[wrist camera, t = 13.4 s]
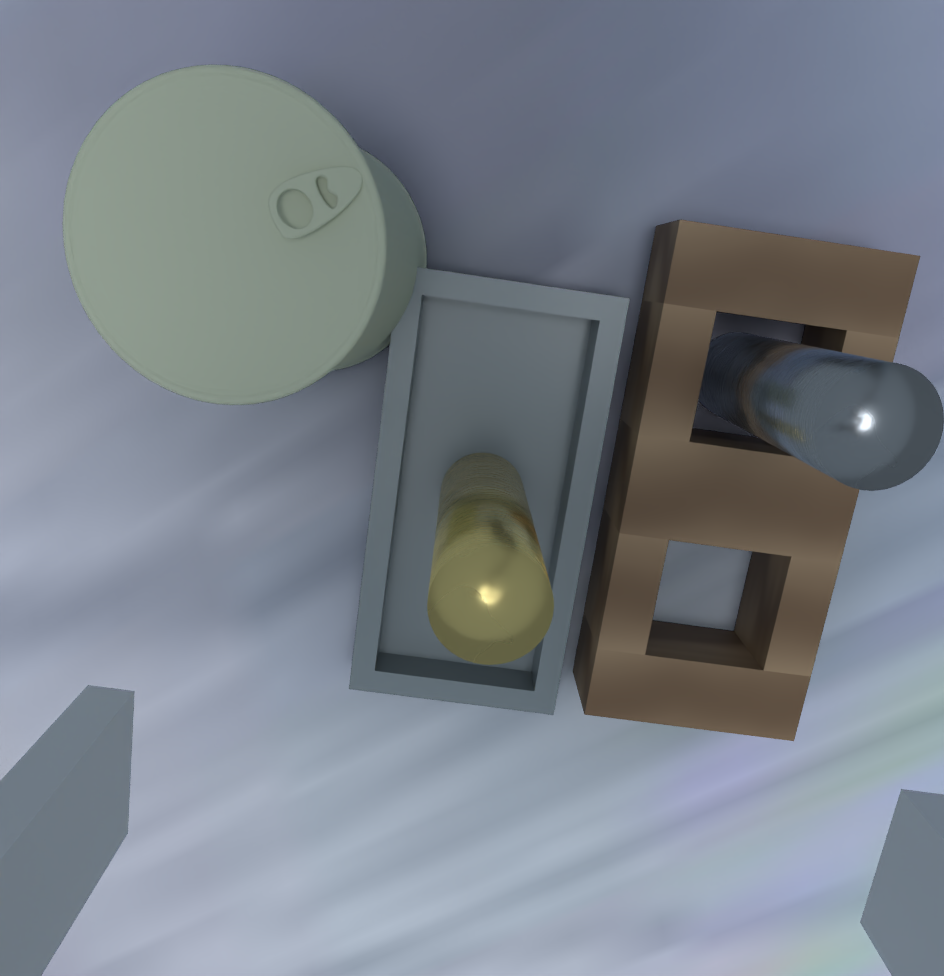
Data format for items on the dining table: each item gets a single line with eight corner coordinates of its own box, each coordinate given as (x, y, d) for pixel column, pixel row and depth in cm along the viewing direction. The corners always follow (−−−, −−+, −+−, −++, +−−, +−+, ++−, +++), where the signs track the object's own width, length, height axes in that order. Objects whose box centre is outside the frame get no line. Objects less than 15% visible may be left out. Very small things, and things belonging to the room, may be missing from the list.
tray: (404, 265, 35) (399, 264, 32) (618, 296, 35) (629, 298, 33) (356, 663, 39) (348, 688, 37) (548, 687, 40) (553, 715, 37)
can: (463, 314, 35) (442, 326, 23) (268, 405, 36) (153, 460, 24) (366, 95, 33) (289, -10, 22) (163, 199, 34) (-14, 153, 23)
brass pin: (446, 447, 36) (436, 537, 24) (529, 458, 36) (563, 555, 24) (435, 527, 37) (419, 656, 24) (516, 538, 37) (542, 672, 25)
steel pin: (702, 326, 36) (831, 353, 23) (785, 338, 36) (959, 372, 23) (684, 410, 36) (799, 481, 24) (766, 422, 37) (924, 498, 24)
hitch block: (655, 225, 35) (679, 219, 31) (869, 258, 35) (920, 255, 31) (572, 671, 39) (584, 714, 35) (762, 695, 40) (793, 740, 36)
